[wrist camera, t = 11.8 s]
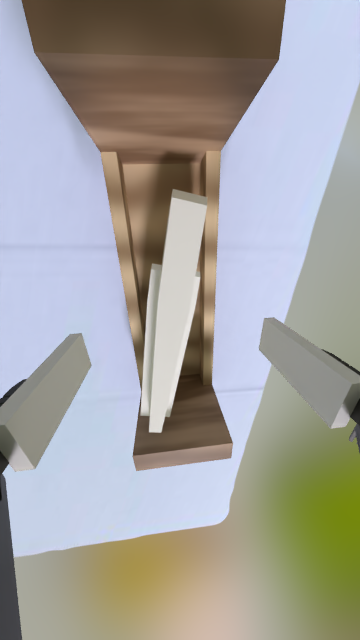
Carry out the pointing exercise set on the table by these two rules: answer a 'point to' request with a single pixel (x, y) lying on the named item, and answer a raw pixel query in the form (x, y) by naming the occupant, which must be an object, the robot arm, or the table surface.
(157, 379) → the shelf bracket
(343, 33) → the table surface
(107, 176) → the cradle
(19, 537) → the table surface
